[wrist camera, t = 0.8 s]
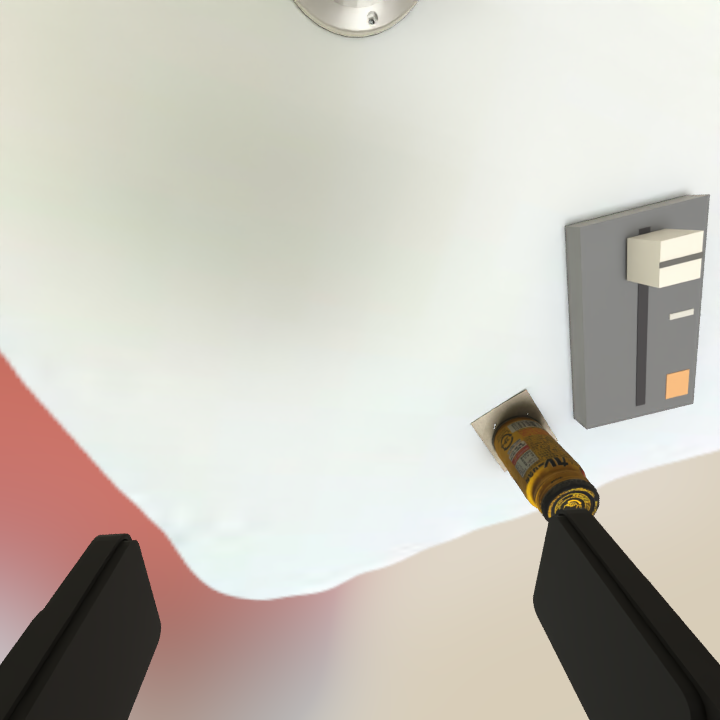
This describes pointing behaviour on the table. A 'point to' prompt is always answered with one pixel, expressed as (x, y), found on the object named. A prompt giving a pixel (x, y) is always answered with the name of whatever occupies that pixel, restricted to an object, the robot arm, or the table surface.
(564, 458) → the condiment
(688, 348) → the fader console
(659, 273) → the fader knob
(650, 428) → the table surface
